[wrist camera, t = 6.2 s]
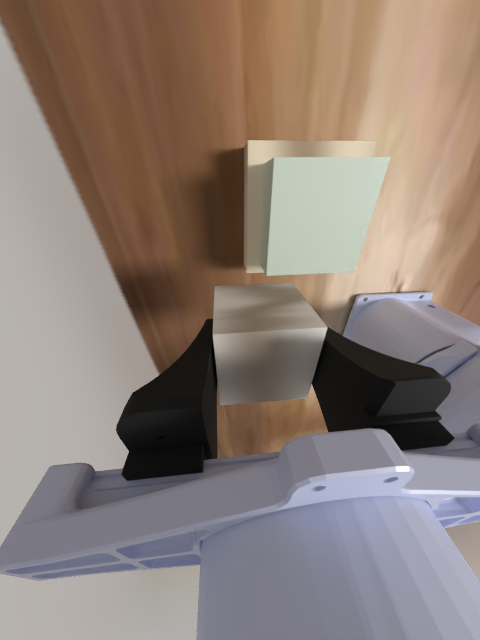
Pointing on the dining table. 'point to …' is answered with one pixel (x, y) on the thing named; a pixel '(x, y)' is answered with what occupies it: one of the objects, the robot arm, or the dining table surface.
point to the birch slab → (254, 172)
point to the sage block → (317, 212)
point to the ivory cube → (265, 343)
